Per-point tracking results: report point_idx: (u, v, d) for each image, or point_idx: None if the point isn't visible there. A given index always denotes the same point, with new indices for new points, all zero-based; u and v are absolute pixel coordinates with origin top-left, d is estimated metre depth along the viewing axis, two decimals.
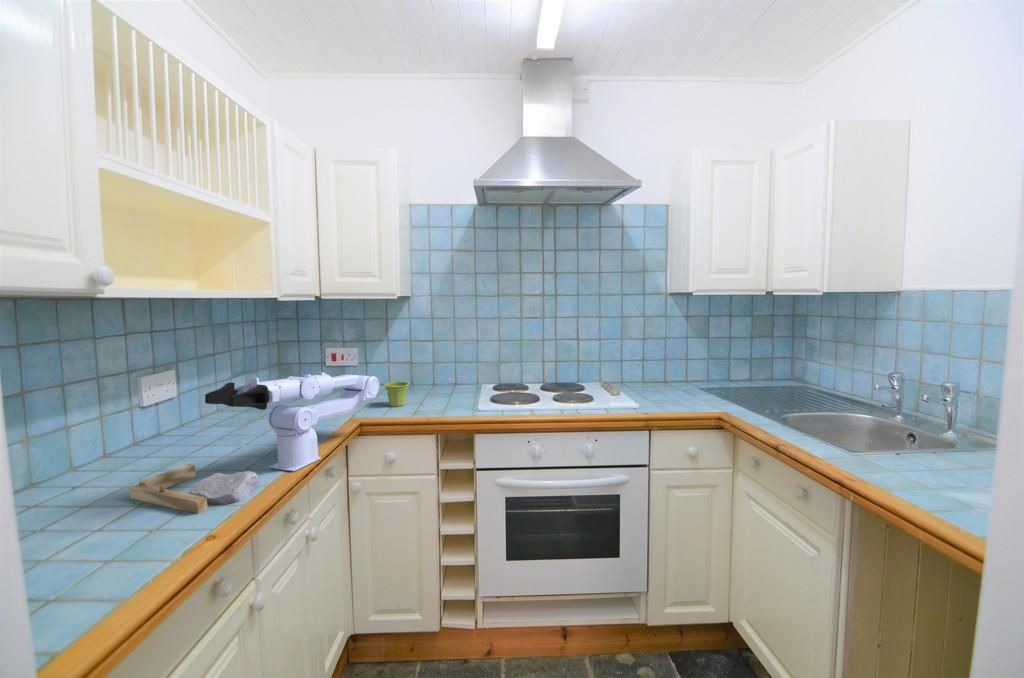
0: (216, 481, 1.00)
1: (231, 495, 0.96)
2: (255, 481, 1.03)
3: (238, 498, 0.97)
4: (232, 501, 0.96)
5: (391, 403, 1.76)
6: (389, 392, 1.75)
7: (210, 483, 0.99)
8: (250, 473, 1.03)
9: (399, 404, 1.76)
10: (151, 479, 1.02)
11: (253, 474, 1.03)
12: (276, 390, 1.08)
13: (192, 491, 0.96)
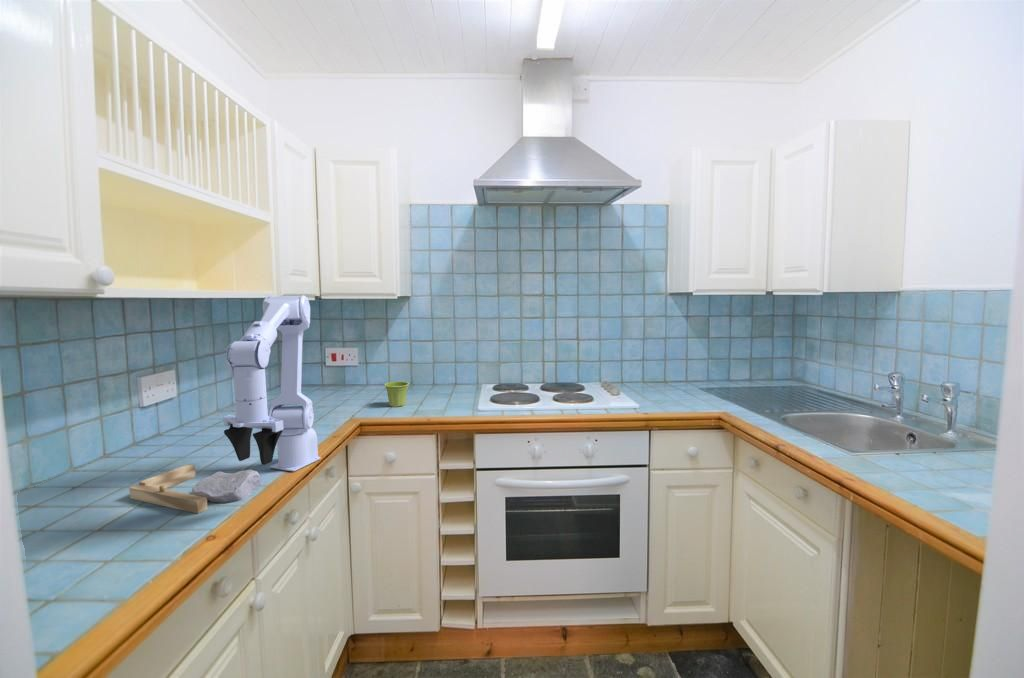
0: (218, 480, 1.00)
1: (234, 494, 0.97)
2: (257, 480, 1.04)
3: (240, 496, 0.98)
4: (234, 499, 0.97)
5: (391, 403, 1.76)
6: (389, 392, 1.75)
7: (212, 482, 1.00)
8: (252, 472, 1.03)
9: (399, 404, 1.76)
10: (151, 479, 1.02)
11: (255, 473, 1.04)
12: (258, 404, 0.92)
13: (194, 490, 0.97)
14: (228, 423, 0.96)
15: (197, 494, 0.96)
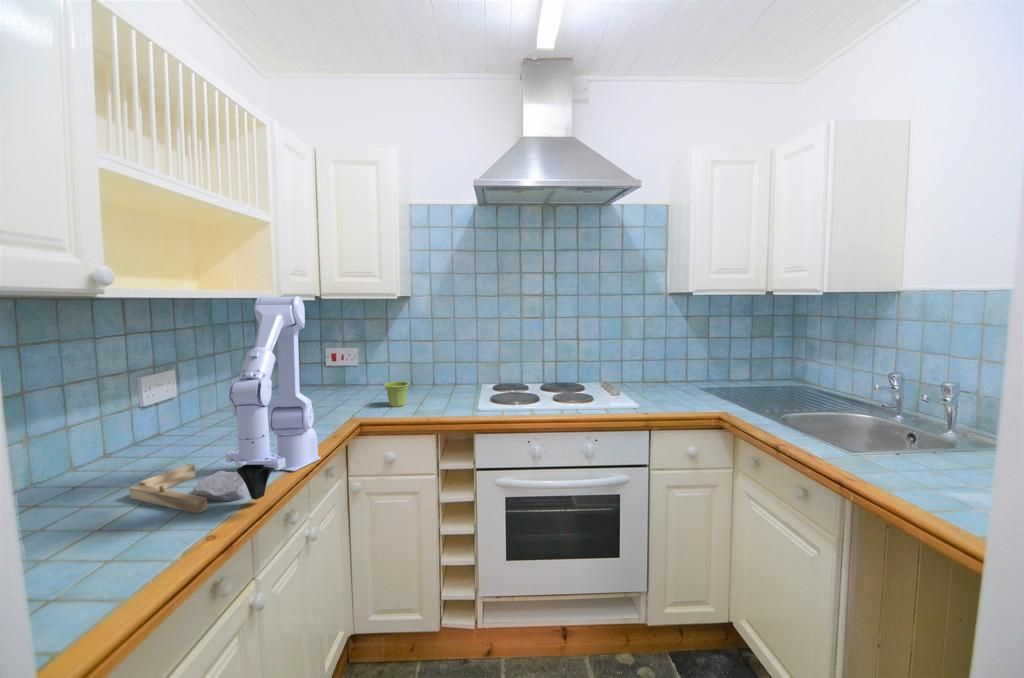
0: (220, 479, 1.01)
1: (235, 492, 0.97)
2: None
3: (242, 495, 0.98)
4: (236, 498, 0.98)
5: (391, 403, 1.76)
6: (389, 392, 1.75)
7: (214, 480, 1.00)
8: None
9: (399, 404, 1.76)
10: (151, 479, 1.02)
11: None
12: (260, 442, 0.93)
13: (196, 488, 0.98)
14: (231, 459, 0.96)
15: (199, 493, 0.97)
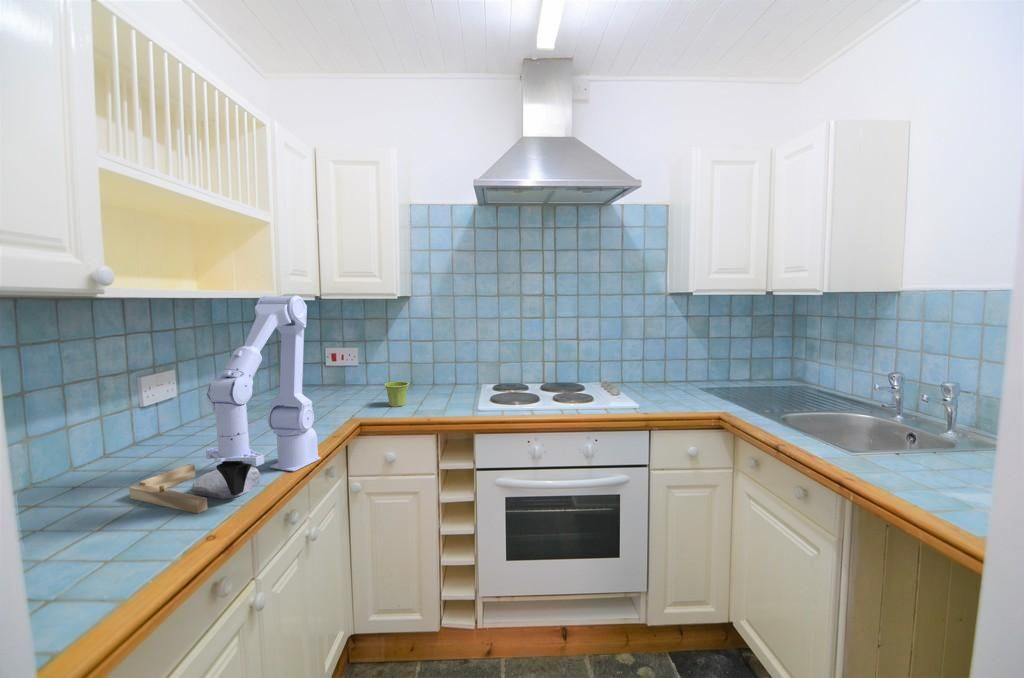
0: (218, 476, 1.02)
1: None
2: (256, 476, 1.05)
3: None
4: (232, 495, 0.99)
5: (391, 403, 1.76)
6: (389, 392, 1.75)
7: (212, 477, 1.02)
8: (251, 468, 1.05)
9: (399, 404, 1.76)
10: (151, 479, 1.02)
11: (254, 469, 1.05)
12: (239, 439, 0.95)
13: (194, 485, 0.99)
14: (211, 456, 0.98)
15: (196, 489, 0.98)
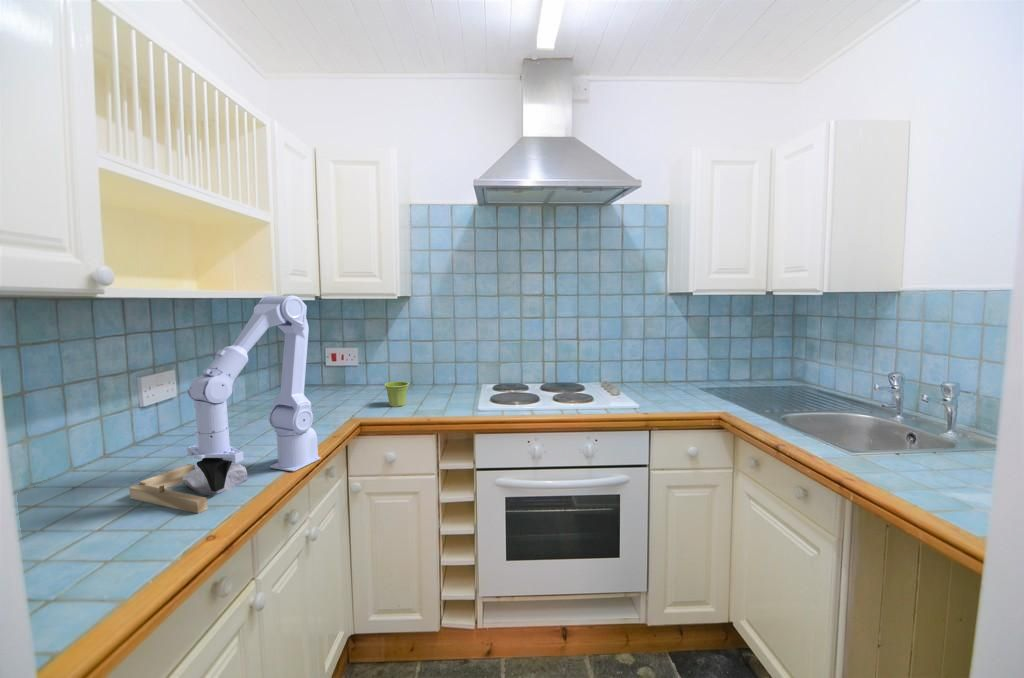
0: None
1: (209, 487, 1.00)
2: (241, 475, 1.06)
3: None
4: (210, 492, 1.00)
5: (391, 403, 1.76)
6: (389, 392, 1.75)
7: (202, 472, 1.05)
8: (237, 467, 1.06)
9: (399, 404, 1.76)
10: (151, 479, 1.02)
11: (239, 468, 1.06)
12: (219, 436, 0.97)
13: (184, 477, 1.03)
14: (192, 453, 1.00)
15: (184, 482, 1.02)
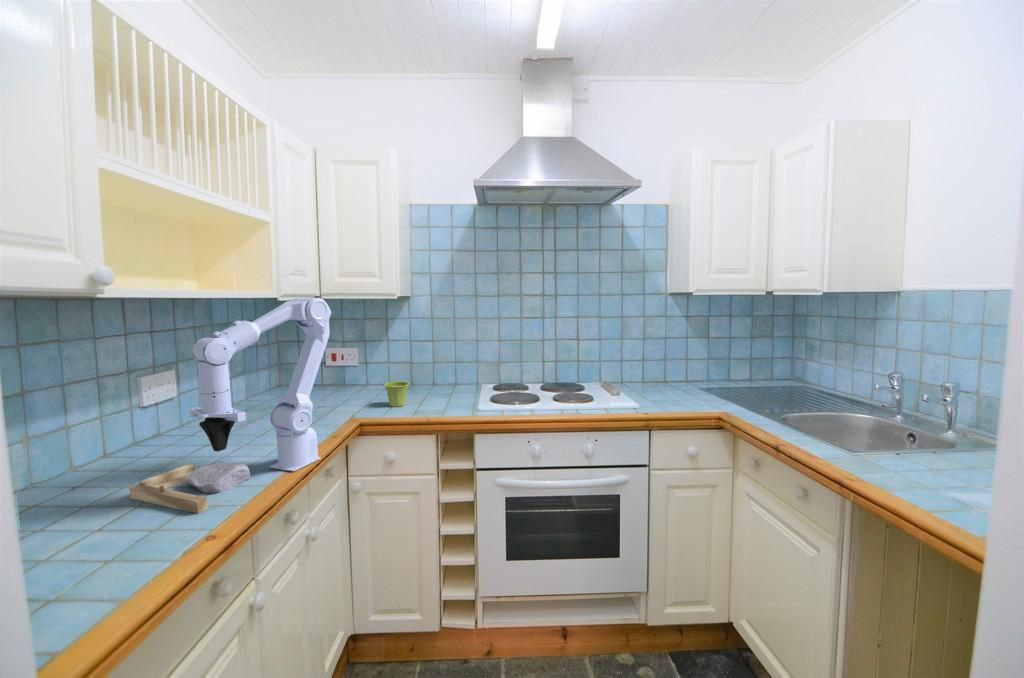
0: (210, 470, 1.06)
1: (212, 486, 1.01)
2: (243, 474, 1.07)
3: (218, 489, 1.01)
4: (213, 491, 1.01)
5: (391, 403, 1.76)
6: (389, 392, 1.75)
7: (205, 471, 1.06)
8: (240, 466, 1.07)
9: (399, 404, 1.76)
10: (151, 479, 1.02)
11: (242, 467, 1.07)
12: (221, 397, 0.99)
13: (187, 476, 1.04)
14: (194, 415, 1.03)
15: (187, 481, 1.03)
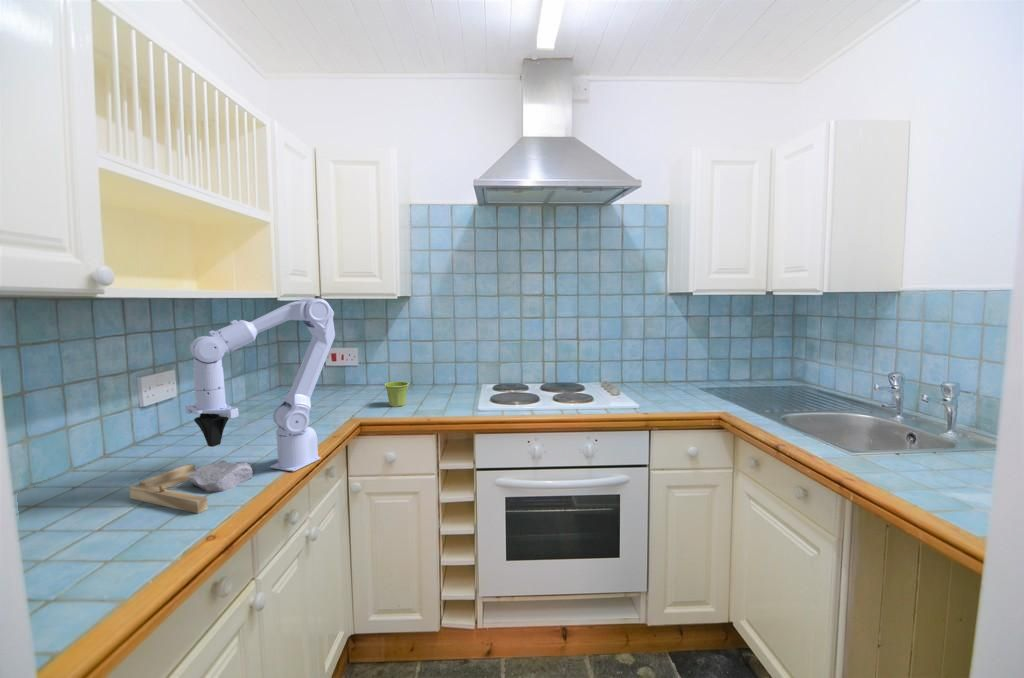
0: (213, 469, 1.07)
1: (215, 484, 1.01)
2: (246, 473, 1.07)
3: (221, 488, 1.02)
4: (216, 490, 1.02)
5: (391, 403, 1.76)
6: (389, 392, 1.75)
7: (207, 470, 1.06)
8: (242, 465, 1.08)
9: (399, 404, 1.76)
10: (151, 479, 1.02)
11: (245, 466, 1.08)
12: (215, 394, 1.02)
13: (190, 475, 1.05)
14: (190, 411, 1.06)
15: (190, 480, 1.04)
